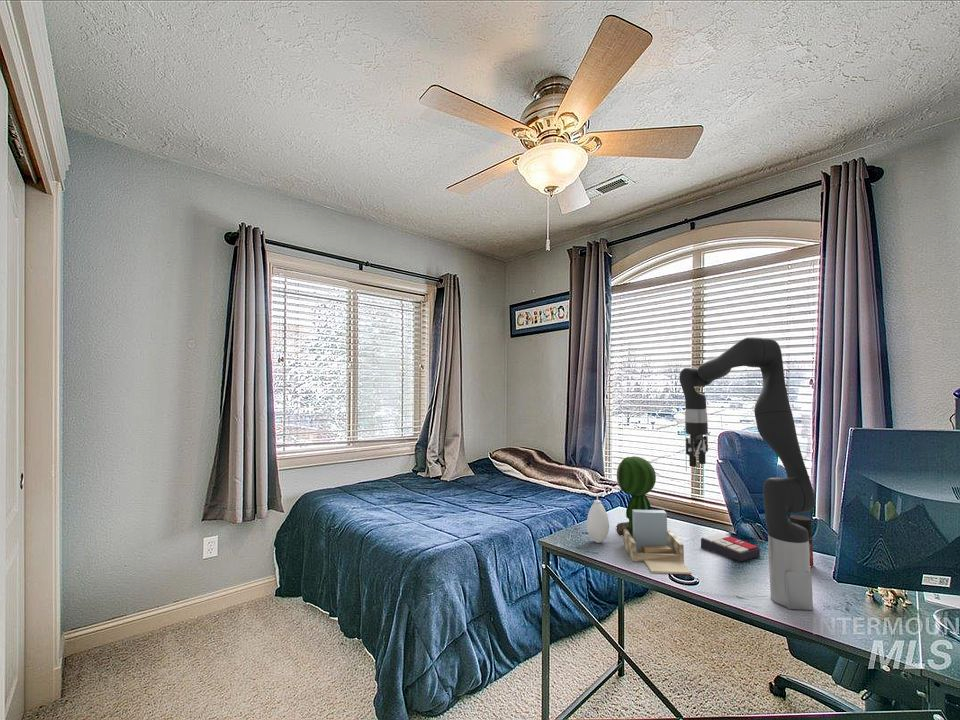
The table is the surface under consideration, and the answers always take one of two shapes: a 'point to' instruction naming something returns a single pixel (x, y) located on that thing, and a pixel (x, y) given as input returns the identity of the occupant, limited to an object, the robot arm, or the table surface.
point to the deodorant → (807, 524)
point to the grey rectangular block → (649, 528)
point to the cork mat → (667, 567)
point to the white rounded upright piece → (597, 522)
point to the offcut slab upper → (657, 549)
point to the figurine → (635, 487)
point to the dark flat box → (730, 547)
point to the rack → (640, 557)
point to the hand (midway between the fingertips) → (697, 465)
